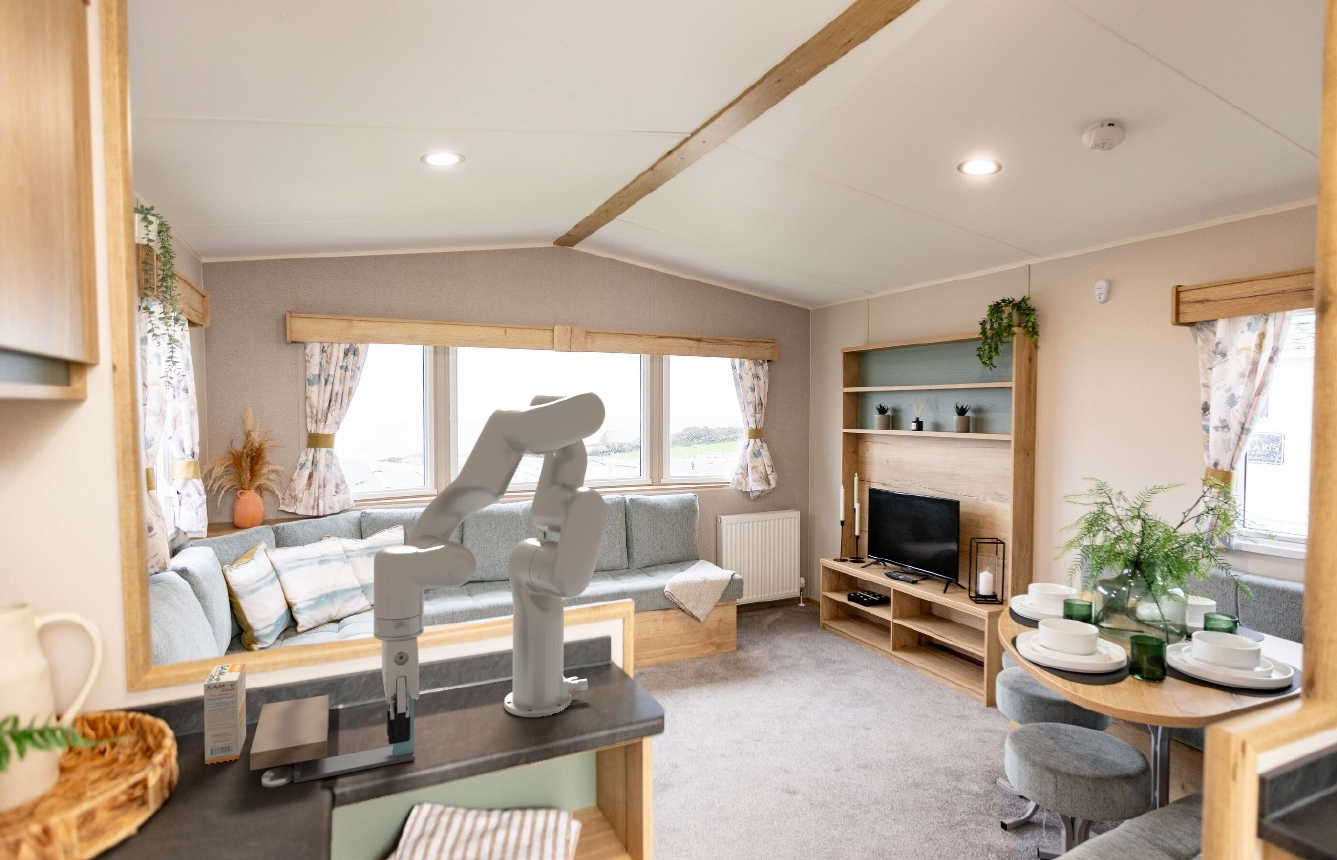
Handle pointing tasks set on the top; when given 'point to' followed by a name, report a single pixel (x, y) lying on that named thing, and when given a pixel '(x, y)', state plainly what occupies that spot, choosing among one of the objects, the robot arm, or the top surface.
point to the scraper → (358, 758)
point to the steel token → (278, 776)
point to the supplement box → (225, 712)
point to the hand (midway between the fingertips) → (398, 737)
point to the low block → (291, 732)
